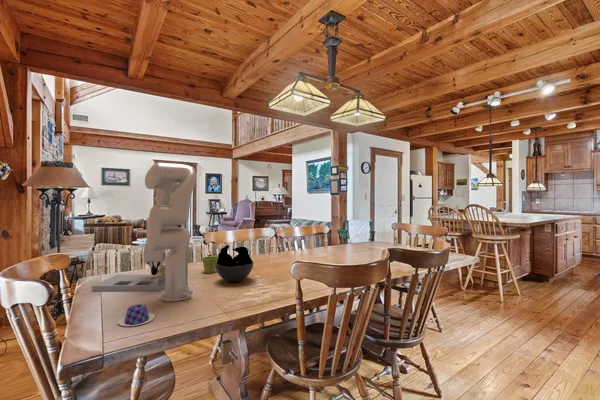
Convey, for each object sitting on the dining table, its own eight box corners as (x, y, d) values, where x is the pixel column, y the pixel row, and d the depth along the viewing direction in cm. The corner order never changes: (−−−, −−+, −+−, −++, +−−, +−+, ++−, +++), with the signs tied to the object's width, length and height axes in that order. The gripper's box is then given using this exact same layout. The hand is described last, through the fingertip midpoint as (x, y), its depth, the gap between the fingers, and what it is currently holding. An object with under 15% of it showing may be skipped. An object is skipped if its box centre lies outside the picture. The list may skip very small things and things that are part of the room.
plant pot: (201, 270, 181) (201, 256, 181) (217, 269, 184) (217, 255, 184) (201, 274, 172) (201, 259, 172) (218, 273, 175) (218, 259, 175)
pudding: (158, 322, 108) (158, 308, 108) (120, 331, 101) (119, 316, 101) (151, 312, 118) (151, 298, 118) (116, 319, 111) (116, 305, 111)
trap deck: (176, 278, 164) (176, 268, 164) (160, 290, 143) (160, 279, 143) (117, 278, 162) (117, 268, 162) (91, 291, 141) (91, 279, 141)
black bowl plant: (257, 284, 154) (257, 248, 154) (217, 288, 147) (217, 250, 146) (249, 274, 173) (249, 242, 172) (213, 278, 165) (213, 244, 165)
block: (167, 275, 161) (170, 266, 162) (166, 277, 156) (169, 268, 157) (158, 272, 160) (161, 263, 160) (156, 275, 155) (159, 266, 155)
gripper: (171, 239, 161) (171, 272, 161) (143, 238, 160) (143, 272, 160) (166, 241, 153) (166, 276, 153) (136, 241, 153) (136, 276, 153)
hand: (154, 274), depth 157 cm, fingers closed
